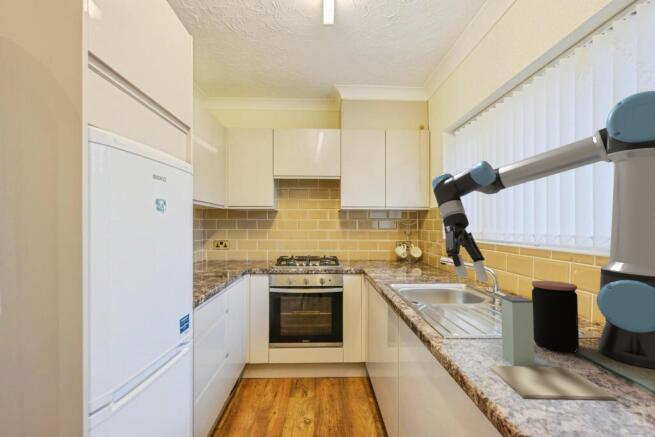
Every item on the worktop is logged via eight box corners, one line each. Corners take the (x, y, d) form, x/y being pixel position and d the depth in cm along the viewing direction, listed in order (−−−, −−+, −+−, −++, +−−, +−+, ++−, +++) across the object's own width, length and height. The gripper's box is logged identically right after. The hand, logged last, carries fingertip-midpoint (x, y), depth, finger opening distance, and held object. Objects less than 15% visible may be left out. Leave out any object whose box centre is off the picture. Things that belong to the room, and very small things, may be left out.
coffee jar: (588, 355, 81) (586, 287, 82) (543, 352, 83) (542, 286, 84) (565, 341, 92) (564, 281, 92) (526, 338, 94) (525, 280, 94)
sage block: (522, 358, 79) (520, 296, 80) (534, 366, 74) (532, 300, 75) (502, 357, 80) (501, 296, 80) (513, 366, 75) (512, 300, 75)
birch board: (566, 369, 73) (566, 367, 73) (615, 399, 60) (615, 396, 60) (489, 368, 73) (489, 365, 73) (522, 397, 60) (522, 394, 60)
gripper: (461, 228, 111) (480, 285, 102) (423, 213, 96) (441, 279, 86) (481, 220, 106) (503, 279, 97) (444, 203, 91) (465, 271, 81)
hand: (474, 279), depth 92 cm, fingers open, 13 cm apart
